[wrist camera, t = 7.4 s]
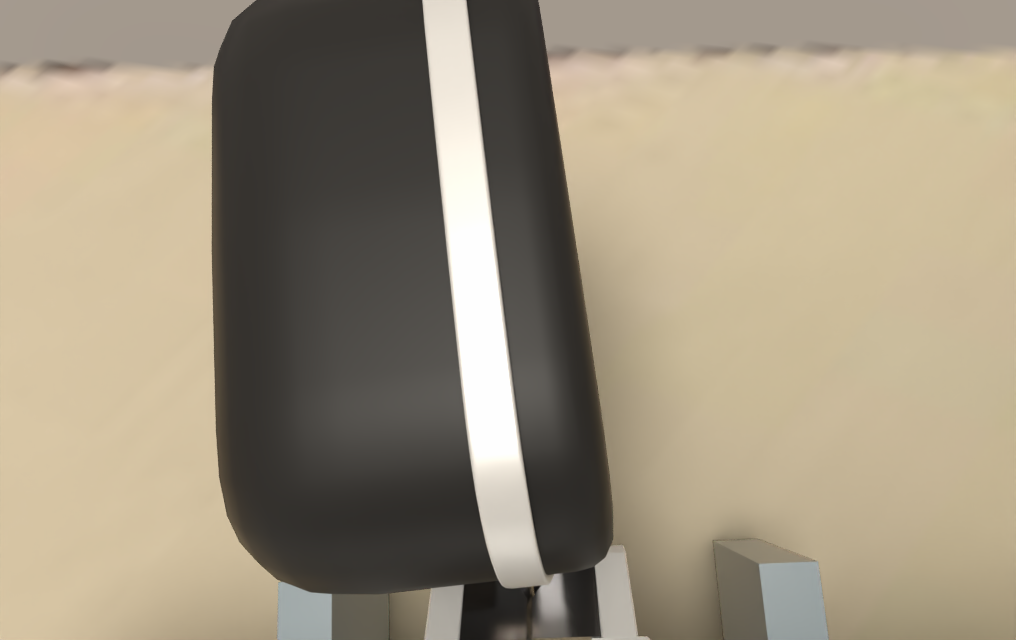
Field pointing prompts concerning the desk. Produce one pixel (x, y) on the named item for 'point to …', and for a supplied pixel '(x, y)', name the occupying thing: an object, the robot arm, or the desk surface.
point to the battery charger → (400, 300)
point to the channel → (741, 585)
